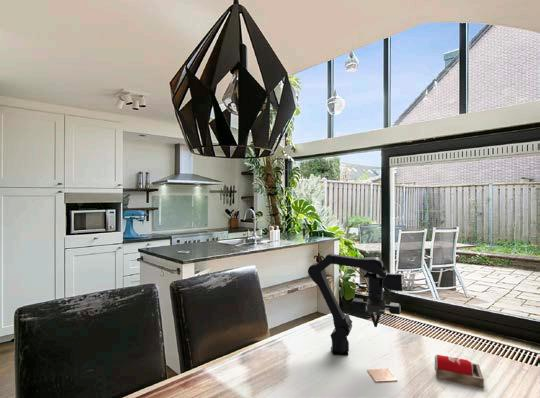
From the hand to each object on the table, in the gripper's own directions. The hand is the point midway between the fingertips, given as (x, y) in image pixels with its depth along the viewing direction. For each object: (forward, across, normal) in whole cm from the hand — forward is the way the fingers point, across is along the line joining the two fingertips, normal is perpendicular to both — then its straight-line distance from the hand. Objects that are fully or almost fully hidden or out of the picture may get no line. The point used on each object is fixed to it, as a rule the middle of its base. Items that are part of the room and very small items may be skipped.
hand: (375, 326), depth 133 cm
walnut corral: (+13, +29, 0) cm, 31 cm away
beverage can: (+10, +21, -2) cm, 23 cm away
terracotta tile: (+14, +4, -12) cm, 19 cm away
